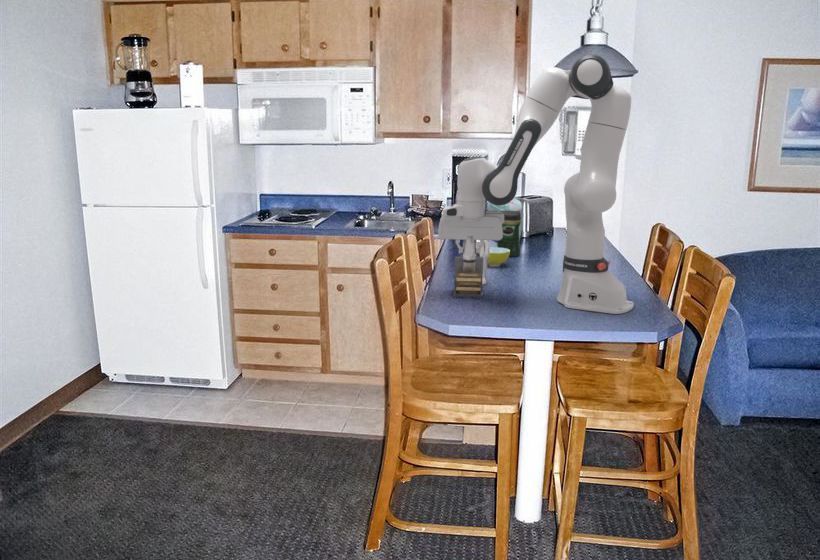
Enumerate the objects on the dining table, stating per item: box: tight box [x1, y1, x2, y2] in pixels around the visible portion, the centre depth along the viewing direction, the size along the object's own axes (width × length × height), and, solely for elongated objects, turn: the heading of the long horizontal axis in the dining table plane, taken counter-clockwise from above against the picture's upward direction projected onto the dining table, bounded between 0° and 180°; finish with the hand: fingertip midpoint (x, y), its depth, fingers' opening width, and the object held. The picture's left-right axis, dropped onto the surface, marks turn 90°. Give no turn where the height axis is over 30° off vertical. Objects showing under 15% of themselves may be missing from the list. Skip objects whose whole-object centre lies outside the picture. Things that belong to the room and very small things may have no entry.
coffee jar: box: [496, 211, 521, 258], centre depth 266 cm, size 10×8×19 cm
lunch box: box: [488, 197, 523, 242], centre depth 300 cm, size 27×10×21 cm, turn 10°
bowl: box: [488, 246, 510, 268], centre depth 248 cm, size 11×12×6 cm
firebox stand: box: [453, 256, 484, 299], centre depth 206 cm, size 9×9×11 cm
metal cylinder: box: [462, 236, 476, 274], centre depth 205 cm, size 4×4×12 cm
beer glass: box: [476, 240, 490, 286], centre depth 220 cm, size 7×7×15 cm
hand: (469, 253), depth 205 cm, fingers closed on metal cylinder, 4 cm apart
